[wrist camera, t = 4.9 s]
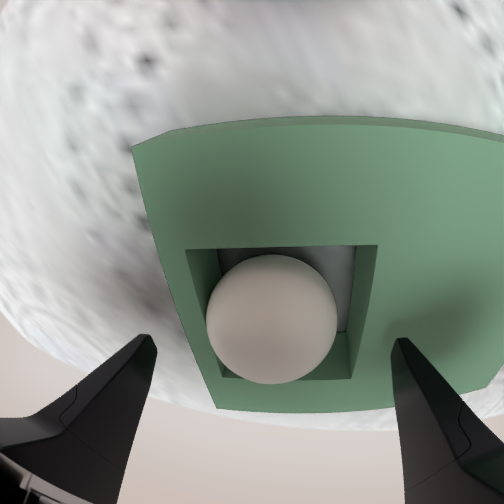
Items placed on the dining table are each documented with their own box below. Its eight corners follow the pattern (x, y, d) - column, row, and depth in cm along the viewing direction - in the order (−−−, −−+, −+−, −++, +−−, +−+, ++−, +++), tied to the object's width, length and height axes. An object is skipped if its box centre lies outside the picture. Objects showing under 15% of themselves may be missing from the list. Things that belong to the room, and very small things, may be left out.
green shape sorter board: (540, 146, 7) (580, 166, 5) (472, 353, 14) (486, 387, 12) (170, 131, 10) (131, 147, 7) (226, 368, 17) (216, 408, 15)
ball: (222, 229, 12) (342, 233, 11) (238, 315, 15) (335, 324, 13) (166, 307, 8) (341, 326, 7) (203, 394, 11) (325, 413, 9)
